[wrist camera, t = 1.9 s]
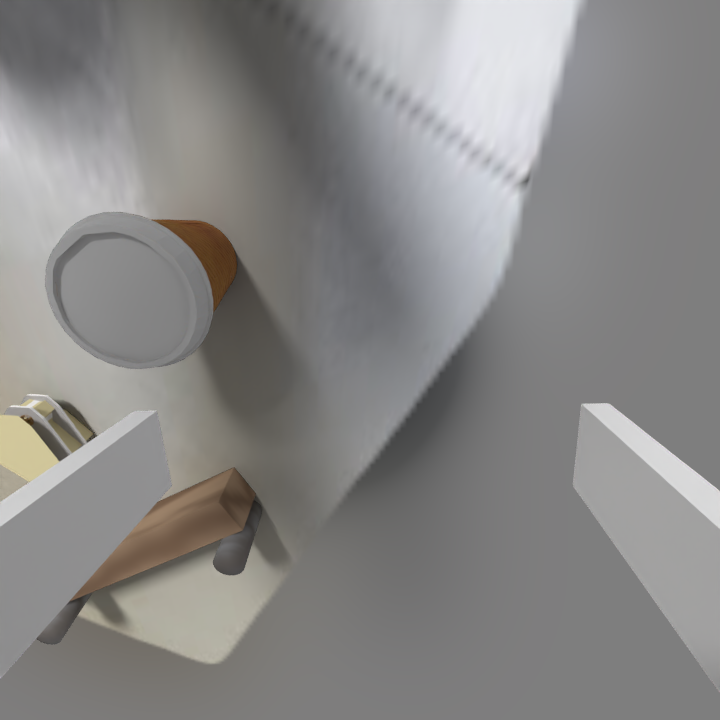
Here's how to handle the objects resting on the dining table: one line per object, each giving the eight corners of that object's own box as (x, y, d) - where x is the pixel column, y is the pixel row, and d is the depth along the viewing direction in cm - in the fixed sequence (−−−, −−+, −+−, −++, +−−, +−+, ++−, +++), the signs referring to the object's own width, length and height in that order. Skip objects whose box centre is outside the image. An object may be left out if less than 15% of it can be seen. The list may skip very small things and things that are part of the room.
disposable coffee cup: (243, 192, 33) (179, 205, 22) (266, 309, 37) (221, 370, 26) (125, 204, 33) (6, 223, 22) (160, 318, 37) (73, 381, 26)
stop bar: (41, 554, 50) (-6, 610, 44) (234, 467, 44) (211, 518, 38) (83, 590, 53) (44, 648, 46) (271, 512, 46) (255, 567, 40)
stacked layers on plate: (130, 429, 43) (98, 464, 38) (75, 470, 45) (38, 508, 40) (48, 356, 40) (1, 384, 35) (-7, 404, 42) (-58, 436, 37)
